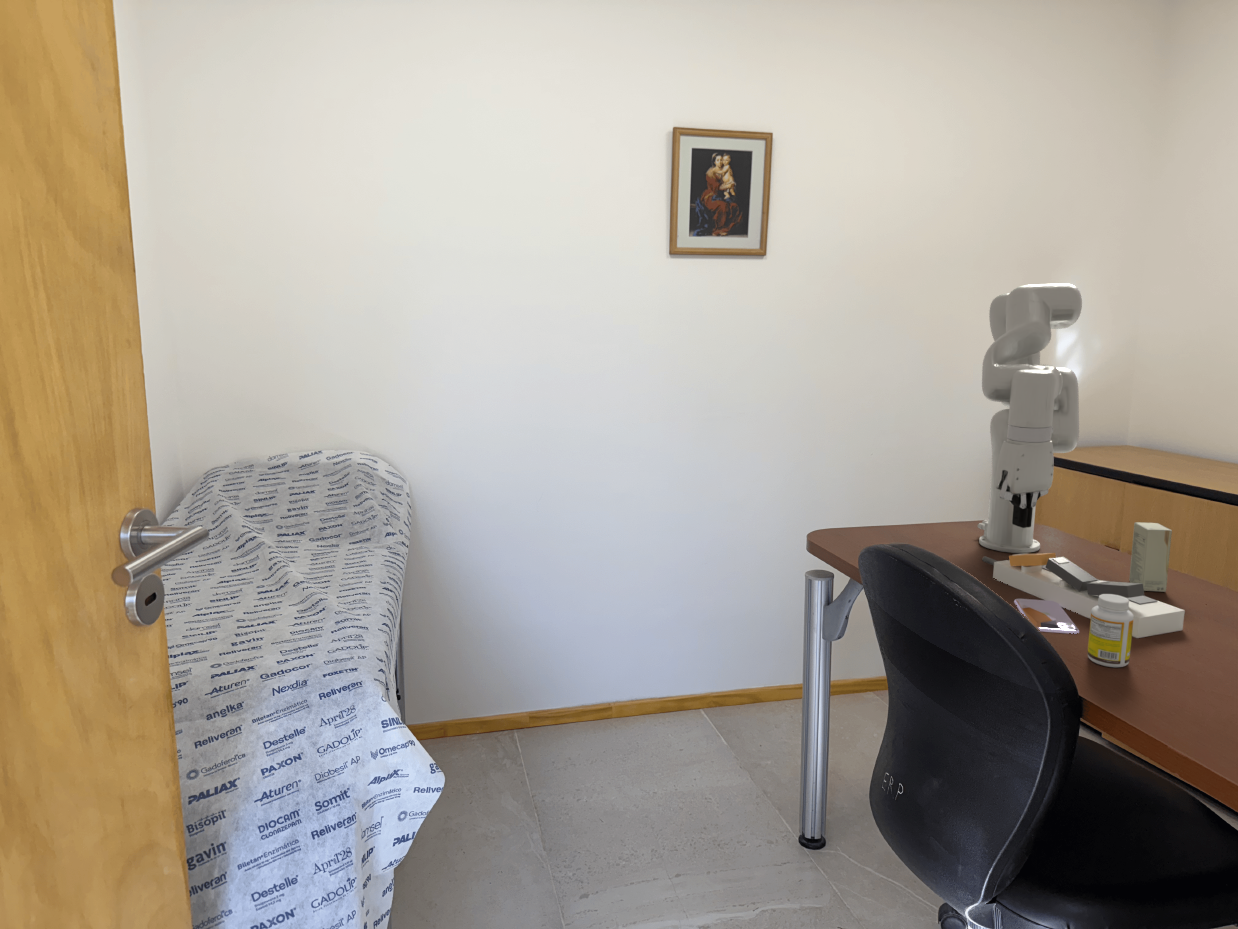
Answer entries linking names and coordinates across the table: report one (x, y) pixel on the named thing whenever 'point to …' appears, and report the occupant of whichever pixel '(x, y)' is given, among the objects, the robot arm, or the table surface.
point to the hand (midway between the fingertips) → (1021, 525)
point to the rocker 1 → (1030, 559)
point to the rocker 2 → (1070, 573)
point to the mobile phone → (1046, 615)
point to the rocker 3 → (1115, 588)
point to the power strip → (1087, 598)
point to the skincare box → (1150, 556)
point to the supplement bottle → (1110, 631)
